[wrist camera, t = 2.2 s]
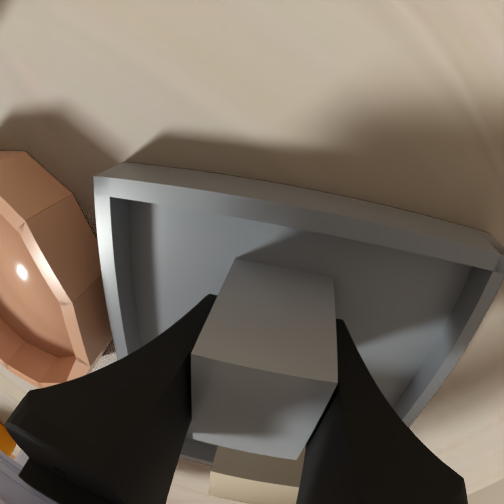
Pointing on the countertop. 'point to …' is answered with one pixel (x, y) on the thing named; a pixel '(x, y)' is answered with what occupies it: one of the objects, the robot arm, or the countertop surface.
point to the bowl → (47, 278)
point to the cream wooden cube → (255, 477)
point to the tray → (299, 258)
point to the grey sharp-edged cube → (265, 360)
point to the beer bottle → (6, 441)
